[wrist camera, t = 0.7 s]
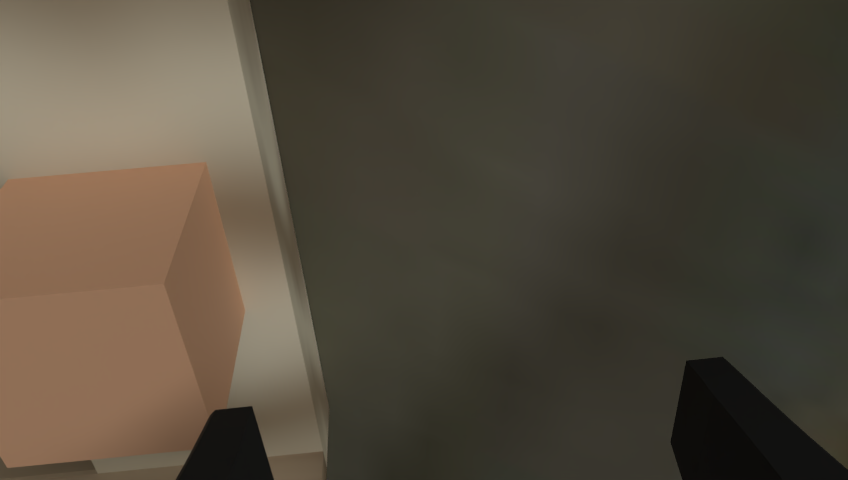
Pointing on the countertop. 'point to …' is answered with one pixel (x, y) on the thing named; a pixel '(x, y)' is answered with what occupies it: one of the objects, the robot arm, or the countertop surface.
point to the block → (113, 313)
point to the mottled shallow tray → (171, 145)
